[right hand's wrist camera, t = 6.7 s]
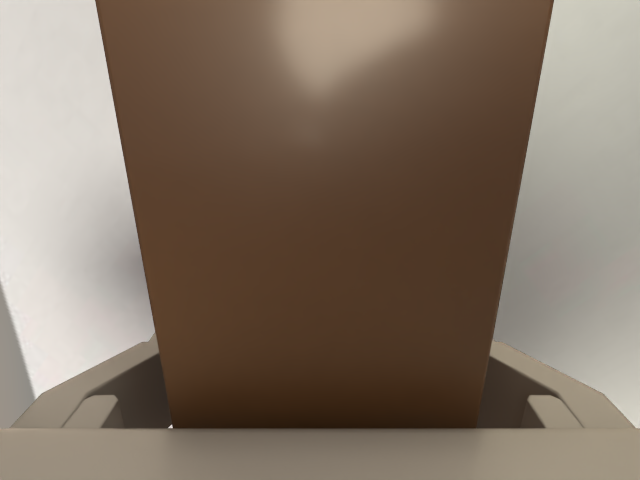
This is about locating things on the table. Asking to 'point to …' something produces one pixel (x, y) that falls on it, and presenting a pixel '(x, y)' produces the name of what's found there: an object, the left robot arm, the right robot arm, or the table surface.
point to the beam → (324, 199)
